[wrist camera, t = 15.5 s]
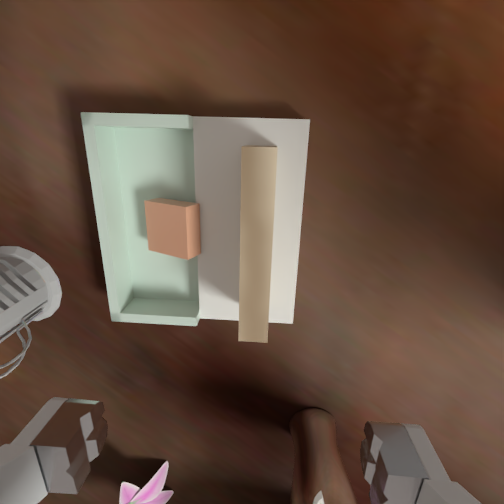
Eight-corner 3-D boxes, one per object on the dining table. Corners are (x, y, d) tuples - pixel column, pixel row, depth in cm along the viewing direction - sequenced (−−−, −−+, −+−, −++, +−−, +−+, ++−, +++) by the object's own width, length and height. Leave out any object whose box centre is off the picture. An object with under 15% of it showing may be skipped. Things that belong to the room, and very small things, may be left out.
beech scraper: (276, 145, 27) (277, 147, 21) (268, 307, 32) (267, 342, 27) (247, 145, 27) (241, 146, 21) (244, 306, 32) (238, 340, 27)
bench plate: (306, 121, 28) (310, 119, 26) (291, 311, 35) (292, 323, 33) (199, 118, 29) (192, 116, 26) (204, 306, 36) (199, 318, 33)
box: (199, 118, 29) (188, 115, 25) (204, 306, 36) (196, 326, 32) (105, 115, 29) (80, 112, 25) (128, 302, 36) (111, 321, 32)
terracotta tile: (199, 203, 29) (185, 207, 27) (200, 253, 30) (187, 260, 29) (159, 197, 31) (144, 200, 29) (162, 244, 33) (148, 250, 31)
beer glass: (280, 410, 40) (284, 555, 26) (333, 400, 39) (367, 546, 25) (293, 447, 42) (304, 600, 28) (344, 439, 41) (381, 594, 27)
